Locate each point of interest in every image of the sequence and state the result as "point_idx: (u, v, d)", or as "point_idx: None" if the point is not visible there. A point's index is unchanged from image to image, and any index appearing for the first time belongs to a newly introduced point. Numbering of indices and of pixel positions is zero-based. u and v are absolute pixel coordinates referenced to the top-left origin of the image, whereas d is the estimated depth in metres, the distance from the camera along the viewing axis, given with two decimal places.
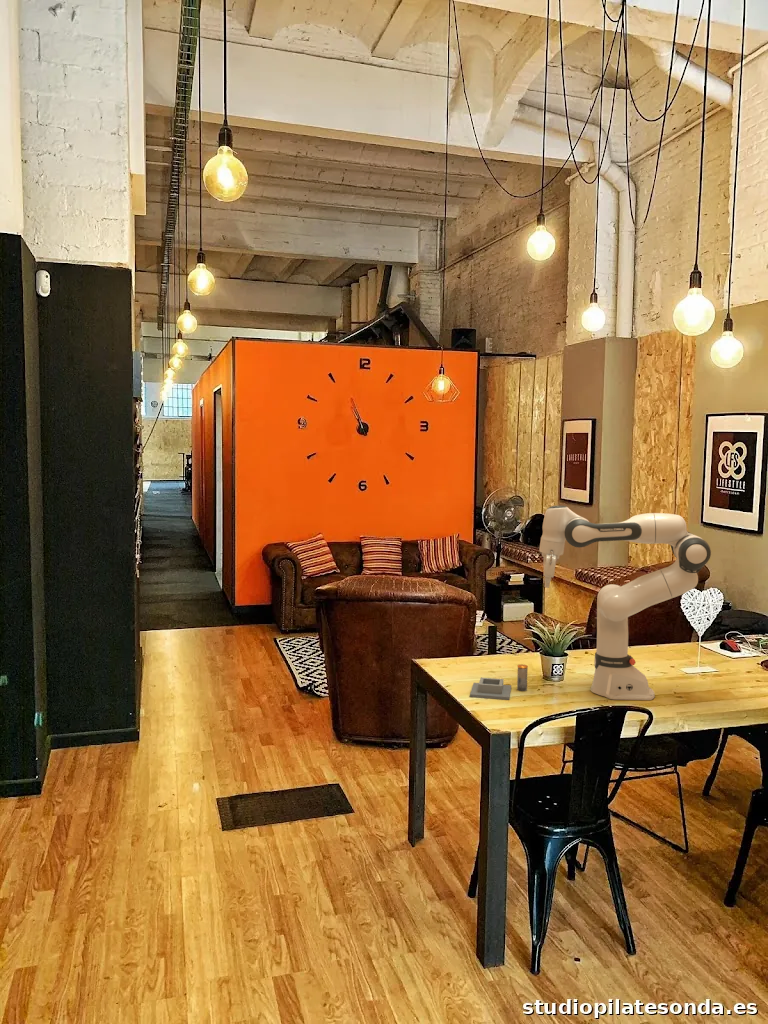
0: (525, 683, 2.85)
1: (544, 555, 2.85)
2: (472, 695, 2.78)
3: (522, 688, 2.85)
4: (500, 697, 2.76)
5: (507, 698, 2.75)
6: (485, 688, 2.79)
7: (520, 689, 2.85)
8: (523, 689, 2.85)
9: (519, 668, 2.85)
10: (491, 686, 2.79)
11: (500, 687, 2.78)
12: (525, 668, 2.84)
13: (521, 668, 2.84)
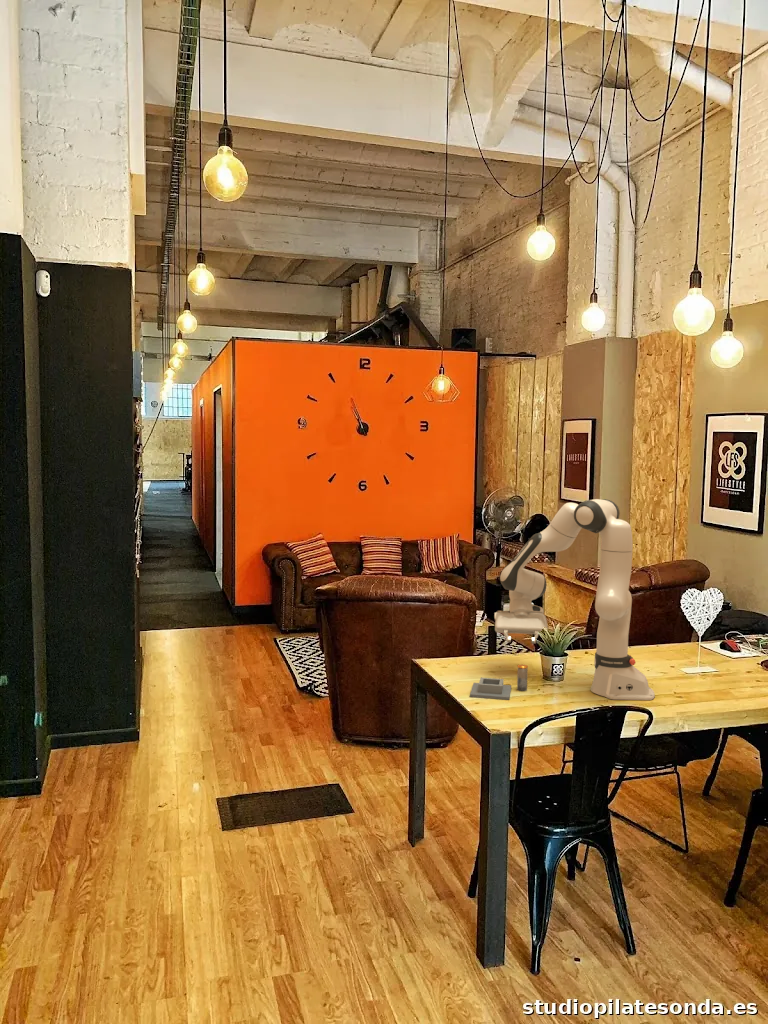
0: (525, 683, 2.85)
1: None
2: (472, 695, 2.78)
3: (522, 688, 2.85)
4: (500, 697, 2.76)
5: (507, 698, 2.75)
6: (485, 688, 2.79)
7: (520, 689, 2.85)
8: (523, 689, 2.85)
9: (519, 668, 2.85)
10: (491, 686, 2.79)
11: (500, 687, 2.78)
12: (525, 668, 2.84)
13: (521, 668, 2.84)
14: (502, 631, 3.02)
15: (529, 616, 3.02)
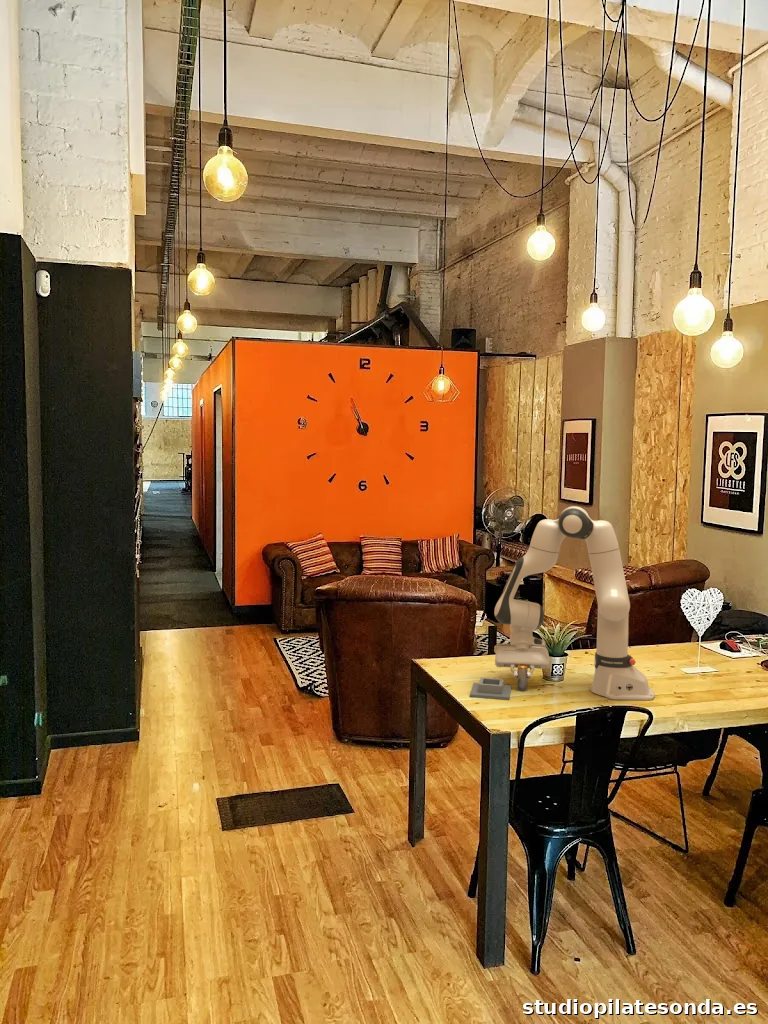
0: (525, 683, 2.85)
1: None
2: (472, 695, 2.78)
3: (522, 688, 2.85)
4: (500, 697, 2.76)
5: (507, 698, 2.75)
6: (485, 688, 2.79)
7: (520, 689, 2.85)
8: (523, 689, 2.85)
9: (519, 668, 2.85)
10: (491, 686, 2.79)
11: (500, 687, 2.78)
12: (525, 668, 2.84)
13: (521, 668, 2.84)
14: (502, 665, 2.90)
15: (530, 650, 2.91)
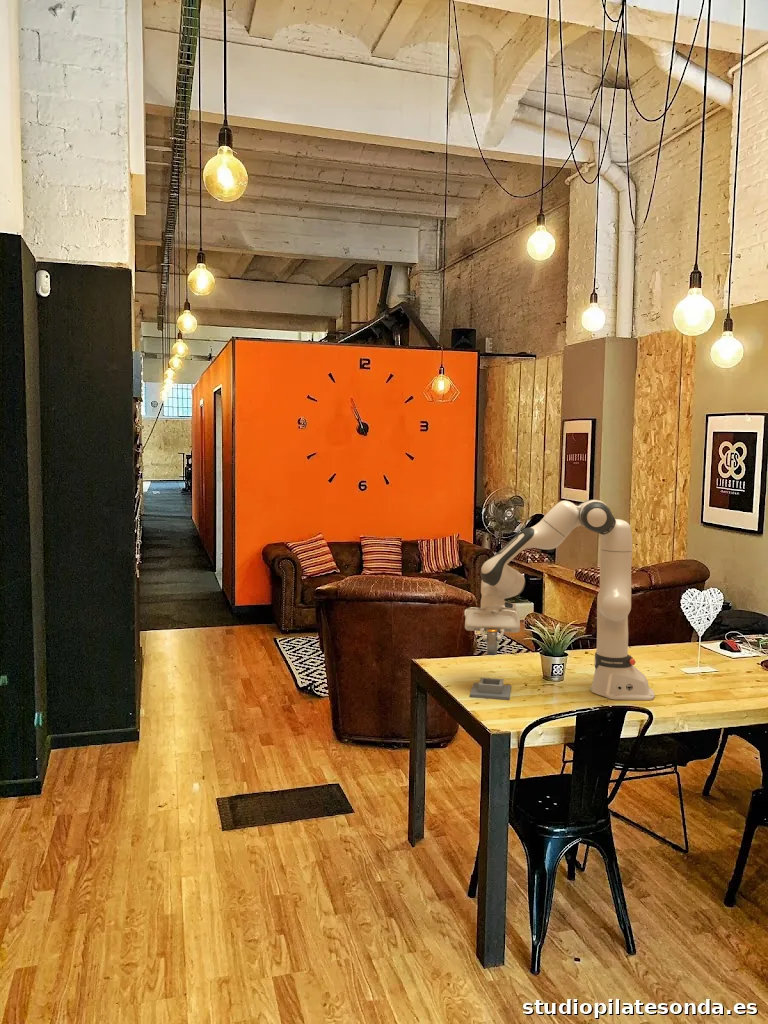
0: (495, 647, 2.80)
1: None
2: (472, 695, 2.78)
3: (492, 652, 2.80)
4: (500, 697, 2.76)
5: (507, 698, 2.75)
6: (485, 688, 2.79)
7: (490, 653, 2.81)
8: (493, 653, 2.80)
9: (489, 632, 2.80)
10: (491, 686, 2.79)
11: (500, 687, 2.78)
12: (495, 632, 2.80)
13: (491, 632, 2.80)
14: (472, 629, 2.85)
15: (501, 613, 2.86)
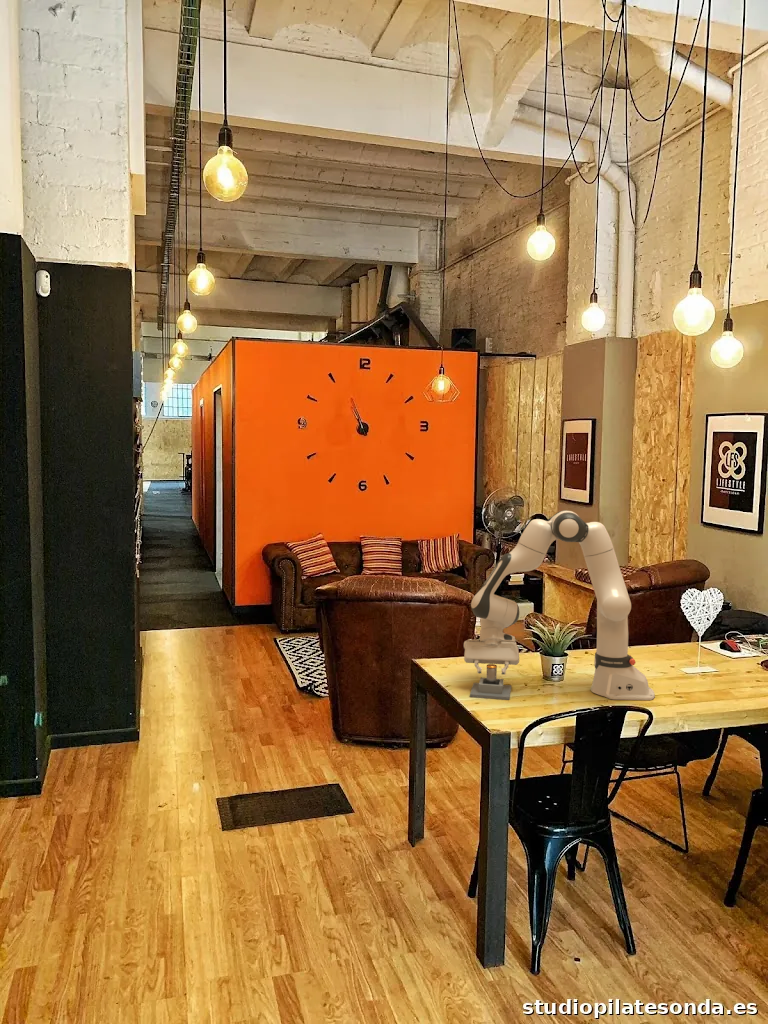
0: (494, 683, 2.81)
1: None
2: (472, 695, 2.78)
3: None
4: (500, 697, 2.76)
5: (507, 698, 2.75)
6: (485, 688, 2.79)
7: None
8: None
9: (488, 668, 2.81)
10: (491, 686, 2.79)
11: (500, 687, 2.78)
12: (494, 668, 2.81)
13: (490, 668, 2.81)
14: (472, 661, 2.86)
15: (500, 645, 2.87)
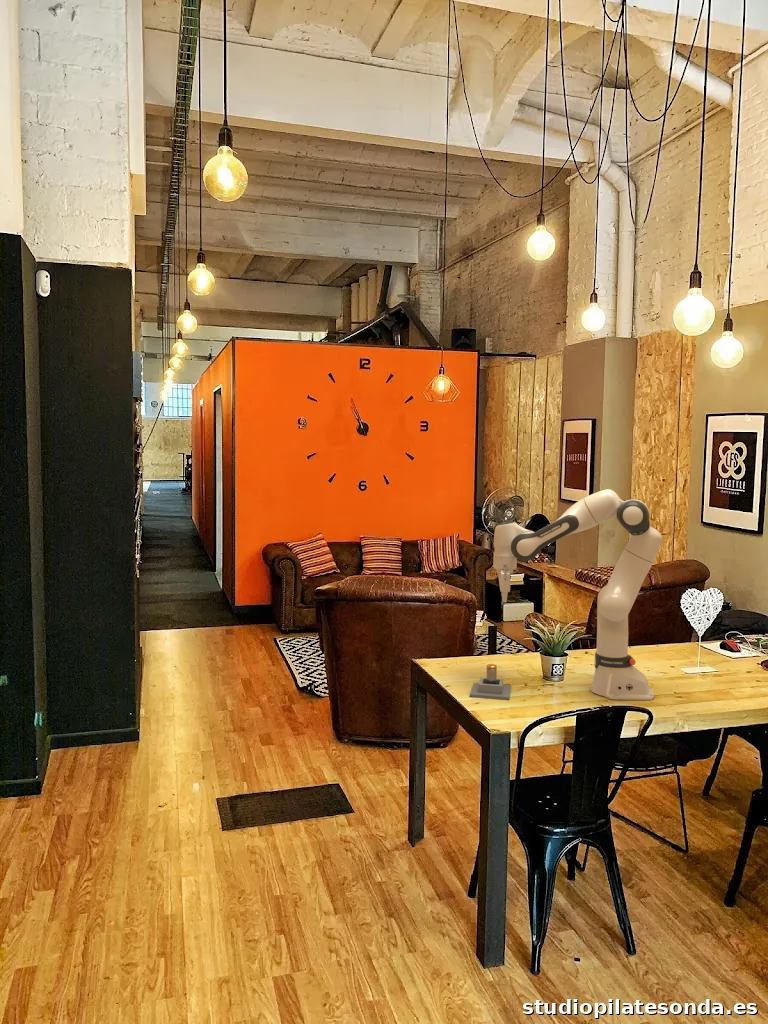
0: (494, 683, 2.81)
1: (498, 571, 2.95)
2: (472, 695, 2.78)
3: None
4: (500, 697, 2.76)
5: (507, 698, 2.75)
6: (485, 688, 2.79)
7: None
8: None
9: (488, 668, 2.81)
10: (491, 686, 2.79)
11: (500, 687, 2.78)
12: (494, 668, 2.81)
13: (490, 668, 2.81)
14: None
15: None
